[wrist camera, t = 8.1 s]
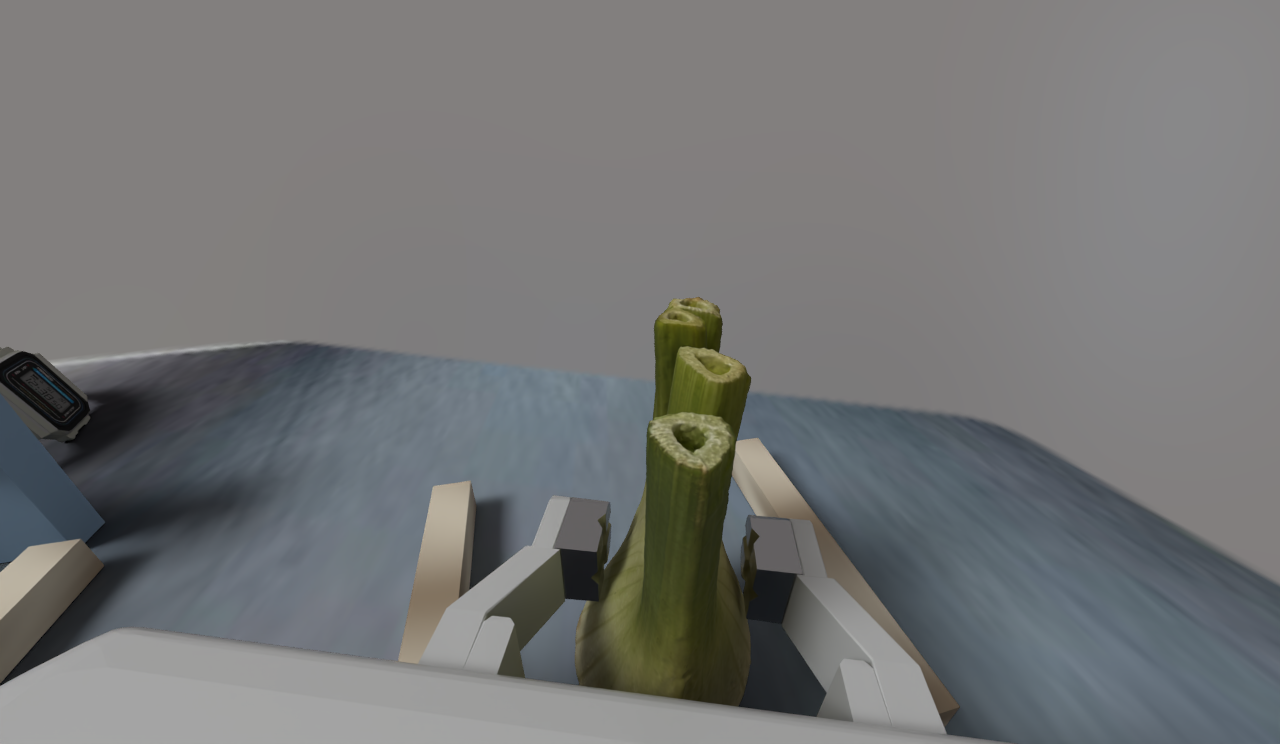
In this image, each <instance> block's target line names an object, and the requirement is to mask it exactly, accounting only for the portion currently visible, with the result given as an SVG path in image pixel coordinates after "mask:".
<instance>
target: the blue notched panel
mask: <svg viewBox="0 0 1280 744" xmlns="http://www.w3.org/2000/svg"><path fill="white" fill-rule="evenodd" d="M104 523H105V521H104V520H103V519H102V518H101V517H100V515H99V514H98V513H97V512H96V510H95V509H94V508H93V507H92V505H91V504H90V503H89V502H88V501H87V499H86V498H85V497H84V496H83V494H82V493H81V492H80V491H79V489H78V488H77V487H76V486H75V485H74V483H73V482H72V481H71V480H70V478H69V477H68V476H67V475H66V474H65V472H64V471H63V470H62V469H61V467H60V466H59V465H58V464H57V462H56V461H55V460H54V459H53V458H52V456H51V455H50V454H49V453H48V451H47V450H46V449H45V448H44V447H43V445H42V444H41V443H40V442H39V440H38V439H37V438H36V437H35V435H34V434H33V433H32V432H31V431H30V429H29V428H28V427H27V426H26V424H25V423H24V422H23V421H22V419H21V418H20V417H19V416H18V415H17V413H16V412H15V411H14V410H13V408H12V407H11V406H10V405H9V404H8V402H7V401H6V400H5V399H4V397H3V396H2V395H1V394H0V563H6V562H12V561H14V560H15V559H16V558H17V557H18V556H19V555H20V554H21V553H22V552H23V551H25V550H26V549H27V548H28V547H29V546H36V545H42V544H49V543H56V542H63V541H69V540H76V539H82V541H83V542H84V543H85V542H86V541H87V540H88V539H89V538H90V537H91V536H92V535H93V534H94V533H95V532H96V531H97V530H98V529H99V528H100V527H101V526H102V525H103V524H104Z"/></svg>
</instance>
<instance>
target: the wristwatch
mask: <svg viewBox="0 0 1280 744" xmlns="http://www.w3.org/2000/svg"><path fill="white" fill-rule="evenodd" d="M0 394H1V395H2V396H3V397H4V399H5V400H6V401H7V402H8V404H9V405H10V406H11V407H12V408H13V410H14V411H15V412H16V413H17V415H18V416H19V417H20V418H21V419H22V421H23V422H24V423H25V424H26V426H27V427H28V428H29V429H30V431H31V432H32V433H33V434H34V435H35V437H36V438H37V439H38V440H39V439H54V440H57V441H59V442H64V441H67V440H73V439H74V438H75V435H76V434H77V433H78V430H79V429H80V428H81V427H82V426H83V425H86V424H87V423H88V421H89V420H90V416H89V415H88V414H89V412H90V408H89V405H88V401H87V395H85V394H84V393H83V392H82V391H81V390H80V389H79V388H78V387H76V386H75V385H74V384H73V383H72V382H71V381H70V380H69V379H67V378H66V377H65V376H64V375H63V374H62V373H61V372H60V371H58V370H57V369H56V368H55V367H54V366H53V365H52V364H51V363H50V362H48V361H47V360H46V359H45V358H44V357H43V356H42V355H41V354H39V353H37V354H31V353H27V352H23V351H14V350H13V349H11V348H9V347H6V348H3V349H2V348H0Z"/></svg>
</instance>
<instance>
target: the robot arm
mask: <svg viewBox="0 0 1280 744" xmlns="http://www.w3.org/2000/svg"><path fill="white" fill-rule="evenodd" d="M610 513H611V508H610V502H606V501H598V500H590V499H582V498H574V497H572V498H571V497H563V496H554V495H553V496H552V498H551V499H550V500H549V503H548V506H547V508H546V511H545V513H544V516H543V518H542V521H541V524H540V526H539V529H538V531H537V534H536V537H535V539H534V542H533V544H532V546H525V547H524V548H523V549H521V550H520V551H519V552H518V553H516V554H515V555H514V556H512V557H511V558H510V559H509V560H507V561H506V562H505V563H503V564H502V565H501V566H500V567H498V568H497V569H496V570H495V571H493V572H492V573H491V574H489V575H488V576H487V577H486V578H484V579H483V580H482V581H481V582H479V583H478V584H477V585H475V586H474V587H473V588H472V589H470V590H469V591H468V592H466V593H465V594H464V595H463V596H461V597H460V598H459V599H458V600H456V601H455V602H454V603H452V604H451V605H450V606H449V607H447V608H446V610H445V612H444V614H443V616H442V618H441V620H440V622H439V624H438V626H437V628H436V630H435V632H434V634H433V635H432V637H431V639H430V641H429V643H428V645H427V647H426V649H425V651H424V653H423V655H422V657H421V659H420V661H419V663H418V664H415V663H407V662H400V661H392V660H385V659H377V658H370V657H362V656H355V655H347V654H340V653H332V652H325V651H317V650H310V649H302V648H295V647H287V646H280V645H272V644H265V643H257V642H250V641H242V640H235V639H227V638H220V637H212V636H205V635H197V634H190V633H182V632H175V631H167V630H160V629H152V628H145V627H124V628H118V629H115V630H111V631H109V632H107V633H105V634H102V635H100V636H98V637H96V638H93V639H91V640H89V641H86V642H84V643H82V644H80V645H78V646H76V647H74V648H72V649H70V650H68V651H66V652H64V653H62V654H60V655H58V656H56V657H54V658H52V659H50V660H48V661H47V662H45V663H43V664H41V665H39V666H37V667H35V668H33V669H31V670H29V671H27V672H25V673H23V674H21V675H19V676H18V677H16V678H14V679H12V680H10V681H8V682H6V683H5V684H3V685H1V686H0V744H1015V743H1008V742H1000V741H993V740H985V739H977V738H970V737H962V736H955V735H947V733H946V731H945V728H944V726H943V723H942V721H941V718H940V716H939V713H938V711H937V708H936V706H935V703H934V701H933V698H932V696H931V693H930V691H929V688H928V686H927V683H926V681H925V678H924V676H923V673H922V671H921V668H920V666H919V665H918V664H917V663H916V662H915V661H914V660H913V659H912V658H911V657H910V656H909V655H908V654H907V653H906V652H905V651H904V650H903V649H902V648H901V647H900V646H899V645H898V644H897V643H896V642H895V640H894V639H893V638H892V637H891V636H890V635H889V634H888V633H887V632H886V631H885V630H884V629H883V628H882V627H881V626H880V625H879V624H878V623H877V622H876V621H875V620H874V619H873V618H872V617H871V616H870V615H869V614H868V613H867V612H866V611H865V610H864V609H863V608H862V607H861V606H860V605H859V604H858V603H857V602H856V601H855V600H854V598H853V597H852V596H851V595H850V594H849V593H848V592H847V591H846V590H845V589H844V588H843V587H842V586H841V585H840V584H839V583H838V582H837V581H836V580H835V579H832V578H828V577H827V573H826V570H825V566H824V563H823V559H822V556H821V552H820V549H819V545H818V542H817V538H816V535H815V531H814V528H813V524H812V523H811V522H810V520H800V519H788V518H778V517H767V516H755V515H748V517H747V520H746V524H745V528H746V536H745V537H743V540H742V547H741V574H742V577H743V579H744V580H745V581H746V582H745V587H744V592H743V595H744V605H745V614H746V619H750V620H757V621H764V622H771V623H778V624H782V627H783V628H784V630H785V631H786V633H787V634H788V636H789V637H790V639H791V640H792V642H793V643H794V645H795V646H796V648H797V649H798V651H799V652H800V654H801V655H802V657H803V658H804V660H805V661H806V663H807V664H808V666H809V667H810V669H811V670H812V672H813V673H814V675H815V676H816V678H817V679H818V681H819V682H820V684H821V685H822V687H823V688H824V690H825V691H826V693H827V694H826V696H825V698H824V701H823V703H822V705H821V708H820V710H819V712H818V714H817V717H812V716H804V715H797V714H789V713H782V712H774V711H767V710H759V709H752V708H744V707H737V706H729V705H722V704H714V703H707V702H700V701H692V700H685V699H677V698H670V697H662V696H655V695H648V694H640V693H633V692H625V691H617V690H610V689H602V688H595V687H587V686H580V685H572V684H565V683H557V682H550V681H542V680H535V679H527V678H525V675H524V670H523V665H522V660H521V655H520V651H521V650H522V649H523V648H524V646H525V645H526V644H527V643H528V642H529V641H530V640H531V639H532V637H533V636H534V635H535V634H536V633H537V632H538V631H539V630H540V628H541V627H542V626H543V625H544V624H545V623H546V622H547V621H548V620H549V618H550V617H551V616H552V615H553V614H554V613H555V612H556V611H557V609H558V608H559V607H560V606H561V605H562V604H563V603H564V602H565V599H574V600H585V601H597V602H599V599H600V594H601V589H602V584H603V580H604V564H605V563H606V562H607V560H608V554H609V548H610V540H611V524H610V523H609V518H610Z"/></svg>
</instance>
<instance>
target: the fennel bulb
mask: <svg viewBox="0 0 1280 744" xmlns="http://www.w3.org/2000/svg"><path fill="white" fill-rule="evenodd" d="M722 325H723V323H722V318H721V315H720V309H719V308H718V306H717V305H714V304H713V303H710V302H709V301H707V300H705V301H704V300H703V299H702V298H700V297H696V298H686V299H683V300H681V299H673V300H672V301H671V302H670V304H669V306H668V308H667V309H666V310H665V311H664V313H662V314H661V315H660V316H659V317H658V318H657V320H656V321H655V325H654V334H655V336H654V339H655V343H654V344H655V360H656V364H655V367H656V368H655V385H656V391H655V402H654V412H653V420H652V421H650V422H649V425H648V428H647V447H646V465H647V466H646V469H647V472H646V483H645V488H644V492H643V496H642V500H641V502H640V504H639V507H638V508H637V511H636V514H635V516H634V519H633V521H632V524H631V526H630V529H629V531H628V534H627V536H626V538H625V540H624V542H623V543H622V545H621V547H620V548H619V550H618V552H617V553H616V554H615V556H614V557H613V558H612V560H611V561H610V562H609V564H608V565H607V567H606V568H605V569H604V580H603V584H602V589H601V594H600V599H599V602H597V601H587V602H586V604H585V606H584V609H583V611H582V613H581V615H580V618H579V621H578V625H577V629H576V639H575V641H576V647H575V667H576V674H577V677H578V680H579V685H580V686H587V687H595V688H602V689H610V690H617V691H625V692H633V693H640V694H648V695H655V696H662V697H670V698H677V699H685V700H692V701H700V702H707V703H714V704H722V705H729V706H737V707H739V704H740V702H741V700H742V697H743V695H744V691H745V686H746V684H747V679H748V675H749V668H750V664H751V658H750V654H751V643H750V631H749V626H748V621H747V619H746V614H745V605H744V597H743V594H742V591H741V588H740V585H739V582H738V579H737V577H736V575H735V572H734V570H733V568H732V566H731V564H730V561H729V559H728V556H727V554H726V551H725V548H724V544H723V541H722V532H723V523H724V519H725V515H726V510H727V504H728V496H729V493H728V491H729V487H730V483H731V477H732V470H733V463H734V457H735V449H736V441H737V436H738V433H739V429H740V424H741V420H742V415H743V412H744V408H745V403H746V399H747V393H748V391H749V388H750V383H751V377H750V376H749V375H748V373H747V371H746V368H745V366H743V365H742V364H741V363H740V362H739V361H737V360H735V359H732V358H731V357H728V356H725V355H723V354H720V353H719V349H720V342H721V341H720V340H721V335H722Z"/></svg>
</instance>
